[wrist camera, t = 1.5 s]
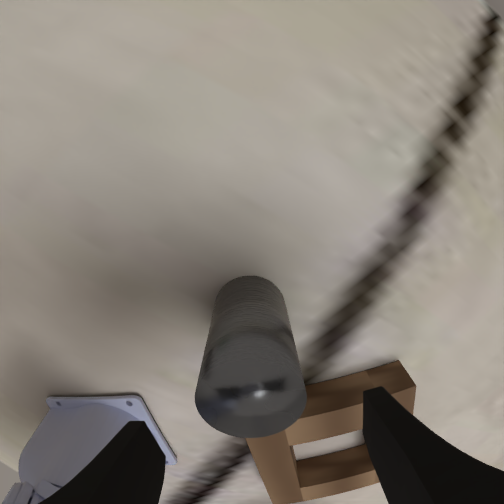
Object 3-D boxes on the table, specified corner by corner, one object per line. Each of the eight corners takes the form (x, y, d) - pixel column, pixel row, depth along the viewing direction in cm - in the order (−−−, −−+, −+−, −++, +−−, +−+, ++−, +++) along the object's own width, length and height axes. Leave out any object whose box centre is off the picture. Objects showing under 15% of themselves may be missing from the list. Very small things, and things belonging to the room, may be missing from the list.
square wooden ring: (271, 479, 23) (273, 505, 20) (242, 397, 20) (241, 428, 17) (391, 451, 22) (401, 474, 19) (398, 360, 19) (416, 385, 17)
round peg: (225, 343, 19) (213, 443, 11) (207, 283, 18) (179, 368, 10) (290, 331, 19) (312, 427, 11) (277, 269, 18) (298, 348, 10)
